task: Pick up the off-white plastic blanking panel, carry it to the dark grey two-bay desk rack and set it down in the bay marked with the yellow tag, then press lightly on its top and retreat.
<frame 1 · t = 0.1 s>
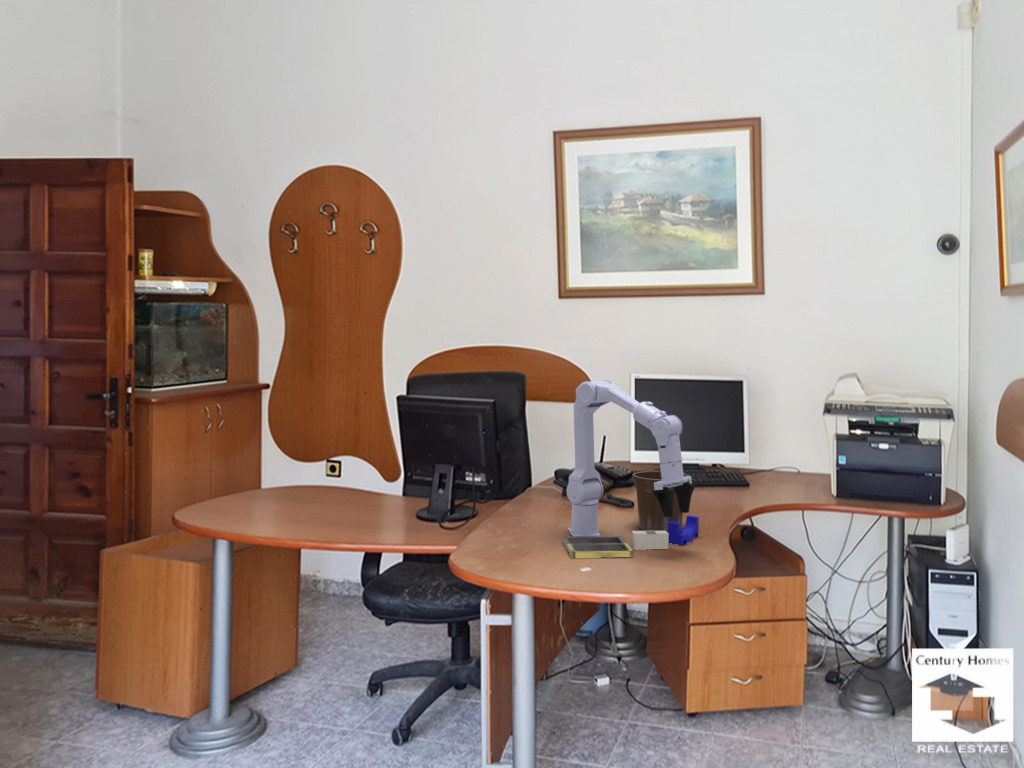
hand: (676, 514, 229), 10 cm above the table, tool pointing down, fingers open, 7 cm apart
plant pot: (659, 530, 258), on the table
panel: (650, 548, 236), on the table
rack: (596, 549, 234), on the table
cable clip: (685, 542, 245), on the table
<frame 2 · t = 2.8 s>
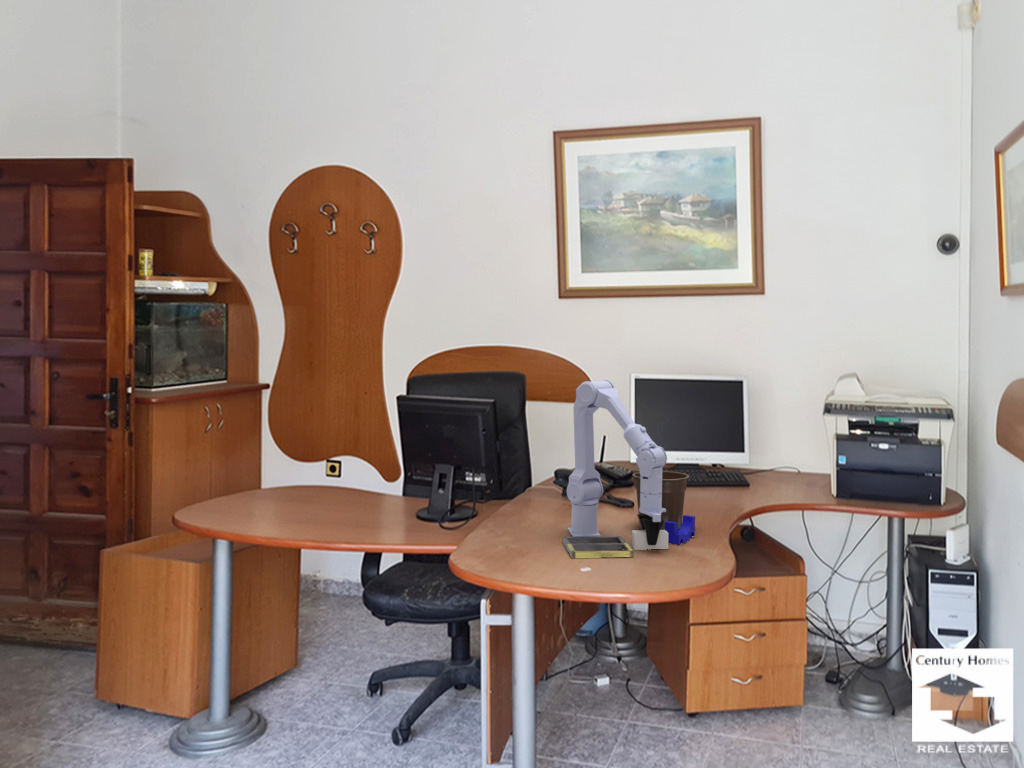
hand: (650, 543, 236), 1 cm above the table, tool pointing down, fingers closed on panel, 3 cm apart
panel: (649, 548, 236), on the table, touching gripper
cable clip: (682, 541, 245), on the table
everything else where it was.
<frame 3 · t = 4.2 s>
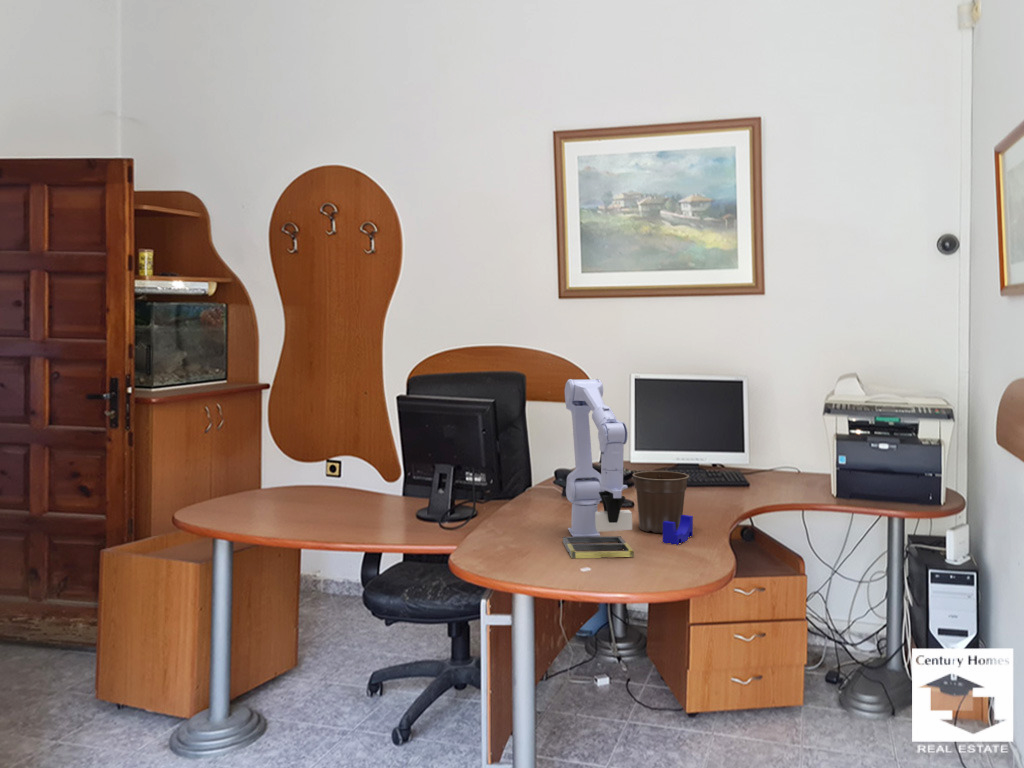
hand: (611, 520, 231), 8 cm above the table, tool pointing down, fingers closed on panel, 3 cm apart
panel: (613, 529, 231), point 6 cm above the table, touching gripper
when the fingers open (3 cm above the table, at t = 5.9 s): panel stays where it is, resting in rack.
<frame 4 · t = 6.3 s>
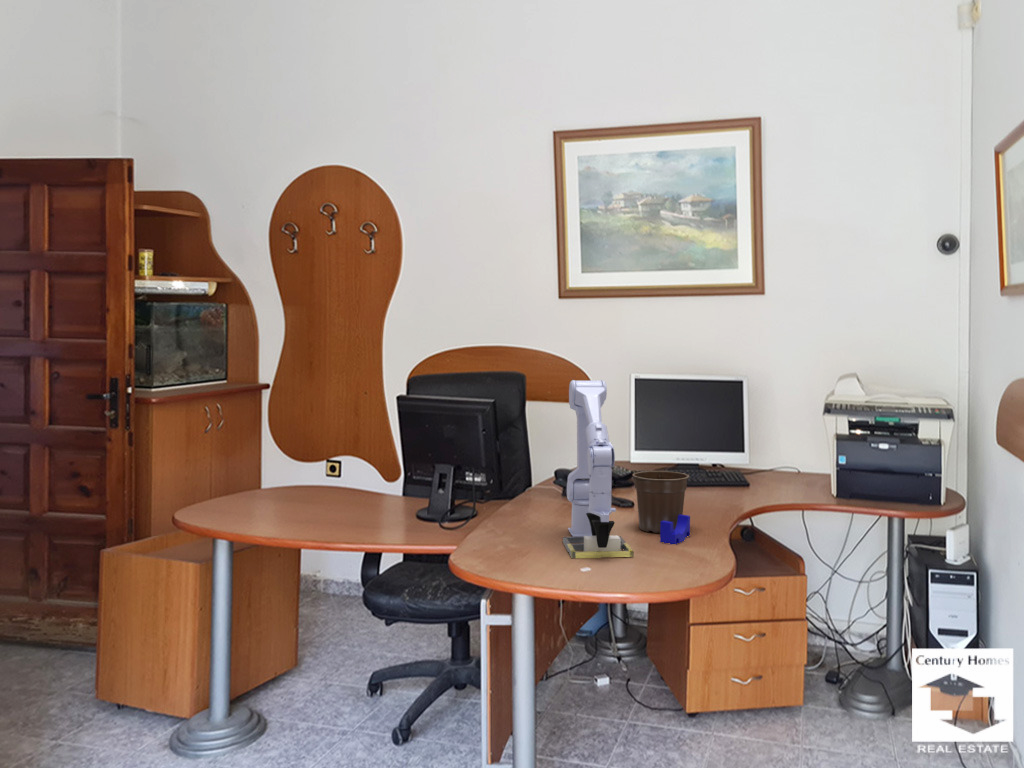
hand: (599, 543, 230), 3 cm above the table, tool pointing down, fingers open, 7 cm apart
panel: (601, 554, 230), resting in rack
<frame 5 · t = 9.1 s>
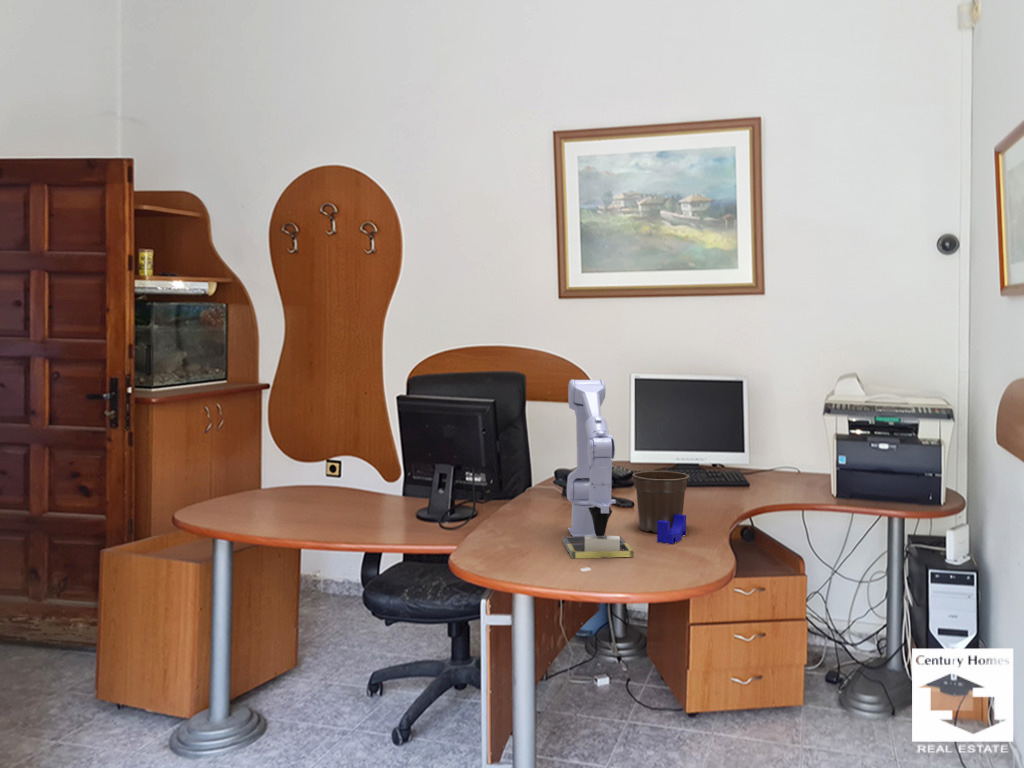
hand: (599, 535, 229), 5 cm above the table, tool pointing down, fingers closed
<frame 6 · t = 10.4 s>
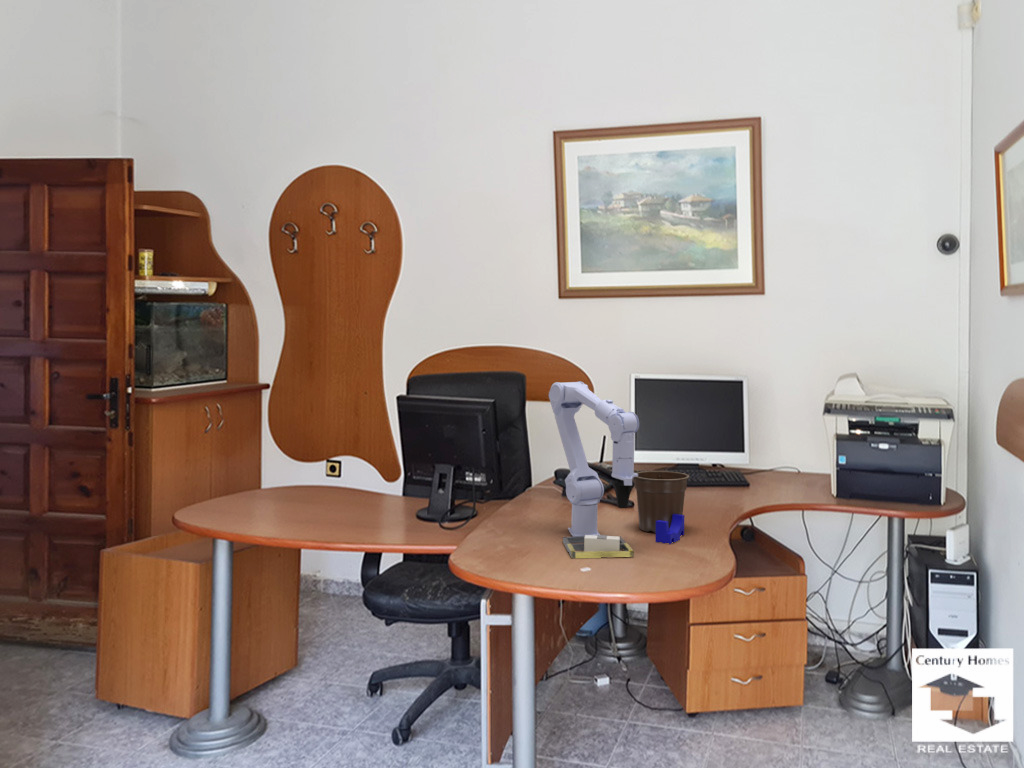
hand: (622, 507, 238), 10 cm above the table, tool pointing down, fingers closed
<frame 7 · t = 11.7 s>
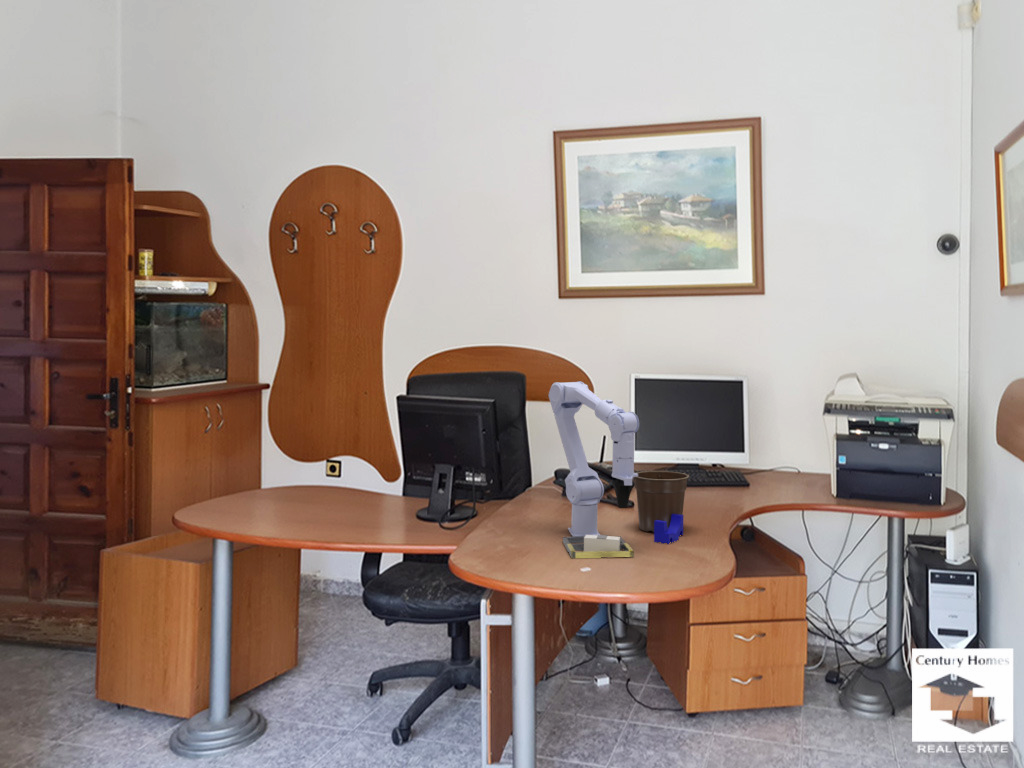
hand: (622, 507, 238), 10 cm above the table, tool pointing down, fingers closed
at the end: panel inside the target area on the rack (0.7 cm from its centre), point 0.0 cm above the rack's base; panel tilted 0°; the gripper is holding nothing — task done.
